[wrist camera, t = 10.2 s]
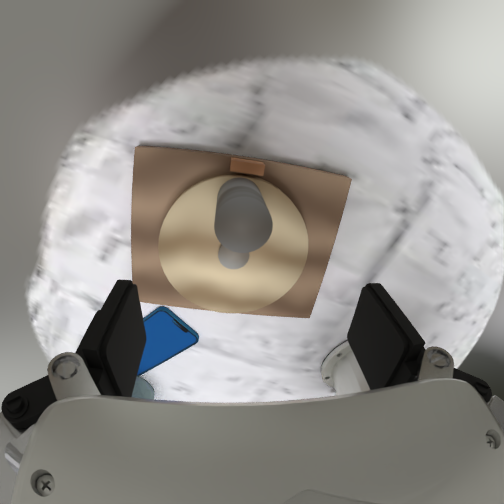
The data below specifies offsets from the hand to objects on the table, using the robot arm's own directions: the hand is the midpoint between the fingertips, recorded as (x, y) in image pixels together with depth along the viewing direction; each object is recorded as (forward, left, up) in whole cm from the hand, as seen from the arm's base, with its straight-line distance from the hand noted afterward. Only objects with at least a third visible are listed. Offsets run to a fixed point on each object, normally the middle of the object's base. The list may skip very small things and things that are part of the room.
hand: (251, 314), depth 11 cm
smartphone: (-23, +10, -21) cm, 33 cm away
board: (-5, 0, -20) cm, 21 cm away
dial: (-5, 0, -18) cm, 19 cm away
